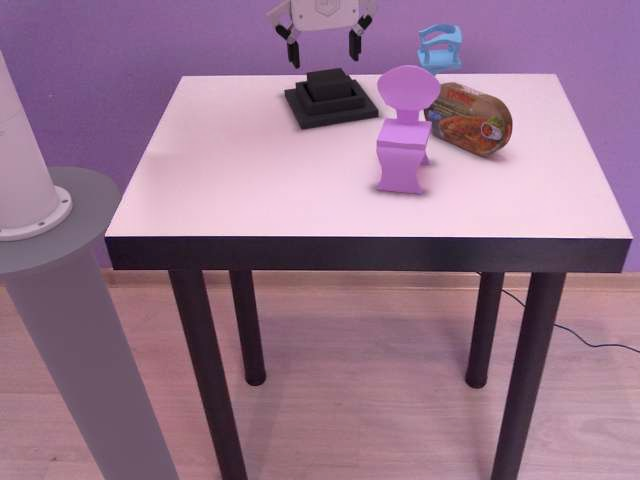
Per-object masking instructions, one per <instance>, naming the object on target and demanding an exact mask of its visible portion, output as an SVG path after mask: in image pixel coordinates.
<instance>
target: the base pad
mask: <svg viewBox="0 0 640 480" xmlns="http://www.w3.org/2000/svg"><path fill="white" fill-rule="evenodd" d="M346 75H347V77H348V78H349V80H350V81H351V97H345V98H338V99H332V100H325V101H319V102H312V101H311V99H310V97H309V95H308V88H307V80H302V81H296V82H295V87H294V88H288V89H287V88H286V89H284V90H283V92H284V97H285V100H286V101H287V103H288V106H289V108H290V110H291V112H292V115H294V117H295V119H296V122H297V123H298V125H299V128H300V129H301V130H305V129H313V128H319V127H325V126H330V125H336V124H342V123H349V122H355V121H361V120H366V119H368V120H369V119H373V118H379V116H380V115H379V114H380V112H379V108H378V107H377V106H376V104H375V103H374V102H373V101H372V99H371V98H370V96H369V95H368V94H367V93H366V91H365V90H364V89H363V87H362V86H361V84H360V83H359V82H358V81H357V79H352V77H351V76H350V74H346Z"/></svg>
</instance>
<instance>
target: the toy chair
mask: <svg viewBox="0 0 640 480" xmlns="http://www.w3.org/2000/svg"><path fill="white" fill-rule="evenodd" d="M440 84H441V82H440V81H439V79H437V77H436V75H435V76H433V75H432V74H431V73H429V72H428V71H426V70H424V69H423V68H420V67H419V66H418V65H412V64H406V65H400V66H396V67H393V68H391V69H389V70H388V71H386V72H384V73H382V75H380V76H379V78H378V79H377V82H376V88H377V91H378V93H379V95H380V97H381V98H382V100H383V102H384V104H385V105H386V106H388V107H390V108H392V109H394V110H395V111H396V118H394V117H393V118H391V117H385V118H384V120H383V123H382V126H381V128H380V131H379V133H378V135H377V138H376V148H375V152H376V156H377V158H378V162H379V164H380V169H381V177H380V180H379V183H378V184H377V187H376V190H379V191H388V192H396V193H406V194H415V195H423V190H422V188H421V186H420V184H419V181H418V170H419V168H420V166H421V164H423V165H430V164H431V161H430V159H429V156H428V154H427V152H426V149H427V146H428V142H429V137H430V134H431V133H432V131H431V126H432V122H430V121H426V120H420V112H421V111H423V109H426V108H429V106H430V105H431V104H432V103H433V102H434V101H435V100H436V99H437V97H438V96H439V93H440V90H441V86H440Z"/></svg>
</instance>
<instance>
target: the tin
mask: <svg viewBox="0 0 640 480" xmlns="http://www.w3.org/2000/svg"><path fill="white" fill-rule="evenodd" d="M453 82H454V81H451V82H444V83H440V84H441V85H440V86H441V90H440V93H439V96H438V97H437V99H436V100H435V101H434V102H433V103H432V104H431V105H430V106H429V108H426V109H423V110H422V111H423V116H424V121H430V122H432V126H431V133H433V135H434V136H436V137H437V138H439V139H441V140H443V141H446V142H448V143H450V144H453V145H455V146H457V147H460V148H462V149H464V150H466V151H469V152H471V153H473V154H475V155H478V156H482V157H486V156H487V157H488V156H491V155H494V154H496V153H497V151H499V150H502V149H503V148H504V147H506V145H507V144H509V142H510V140H511V137H512V134H513V127H514V126H513V125H514V123H513V122H514V121H513V116H512V113H511V111H510V109H509V107H508V106H507V105H506V103H504V101H502V100H501V99H500V98H498V97H496V96H493V95H490V94H488V93H485V92H482V91H479V90H476V89H474V88H471V87H468V86H465V85H462V84H460V83H457V82H456V83H453Z"/></svg>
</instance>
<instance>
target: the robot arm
mask: <svg viewBox="0 0 640 480" xmlns="http://www.w3.org/2000/svg"><path fill="white" fill-rule="evenodd" d="M360 6H361V7H364V8H365V10H364V13H363V14H362V15H361V16H360ZM378 9H379V3H377V2H376V1H375V0H284V1H282V2H281V3H279V4H278V5H276V6H275V7H273V8H272V9H271V10H269V11H268V12H266V18H267V20H268V22H270V24H271V26H272V27H273V29H274V31H275V32H276V33H277V34H278V35H279V36H280V37H281V38H282V39H284V40H285V41H286V49H287V50H286V51H287V60H288V63H291V64H292V65H293V67H294V69H295V70H298V69H300V68H301V62H300V61H301V59H300V58H301V57H300V45H299V43H298V41H297V39H298V38H299V37H300V35H301V33H302V32H303V33H313V32H321V31H330V30H338V29H348V28H350V29H351V30H349V32H348V55H349V57H350V58H351V59H352V61H353V62H359V59H360V58H359V57H360V55H361V54H362V36H364V34H365V31H366V30H367V29H368V27H369V26H370V25H371V24H372V22H373V18H374V17H375V16H376V13H377V11H378ZM286 14H289V20H290V23H289V24H288V26H287V27H285V26H284V25H283V24H282V23H281V22H280V18H281V17H283V16H285V15H286ZM359 16H360V18H359ZM47 167H48V166H47V165H46V162H45V160H44V157H43V155H42V152H41V149H40V146H39V144H38V142H37V139H36V137H35V133H34V132H33V129H32V126H31V124H30V122H29V119H28V116H27V114H26V111H25V108H24V106H23V103H22V102H21V100H20V97H19V95H18V92H17V89H16V87H15V84H14V82H13V79H12V76H11V74H10V71H9V68H8V67H7V64H6V60H5V57H4V55H3V52H2V50H1V49H0V241H17V240H23V239H27V238H31V237H34V236H37V235H40V234H42V233H45V232H47V231H49V230H51V229H53V228H54V227H56V226H57V225H59V224H60V223H61V222H62V221H64V220H65V219H66V218H67V216H68V215H69V214H70V212H71V210H72V207H73V202H72V199H71V196H70V194H69V193H68V192H67V191H66V190H65V189H63V188H61V187H58V186H55V185H53V182H52V179H51V177H50V174H49V172H48V169H47Z"/></svg>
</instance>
